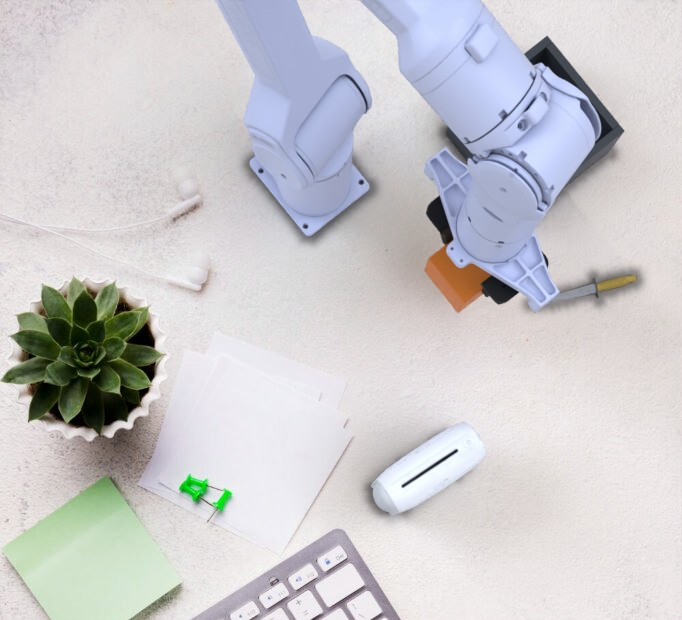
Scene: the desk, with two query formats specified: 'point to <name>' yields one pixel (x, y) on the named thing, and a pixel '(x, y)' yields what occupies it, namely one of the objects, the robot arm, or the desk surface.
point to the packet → (455, 279)
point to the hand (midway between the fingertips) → (473, 263)
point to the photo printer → (428, 469)
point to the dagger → (594, 288)
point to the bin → (564, 70)
